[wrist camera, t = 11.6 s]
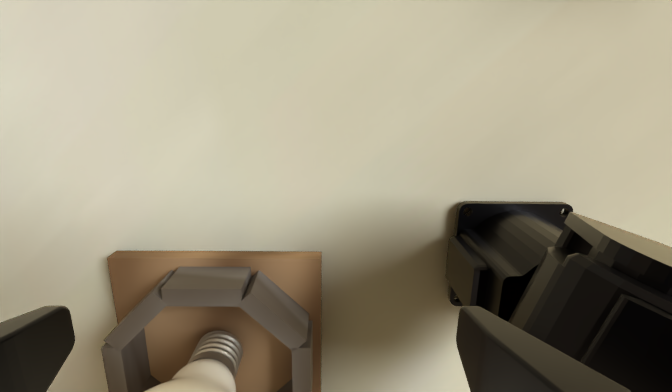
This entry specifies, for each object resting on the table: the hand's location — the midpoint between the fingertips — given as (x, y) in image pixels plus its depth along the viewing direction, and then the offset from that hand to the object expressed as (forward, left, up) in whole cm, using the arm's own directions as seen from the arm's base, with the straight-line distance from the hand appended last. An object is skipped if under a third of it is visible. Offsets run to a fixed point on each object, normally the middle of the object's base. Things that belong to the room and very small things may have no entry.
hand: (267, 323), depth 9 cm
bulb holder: (+5, +10, -13) cm, 17 cm away
